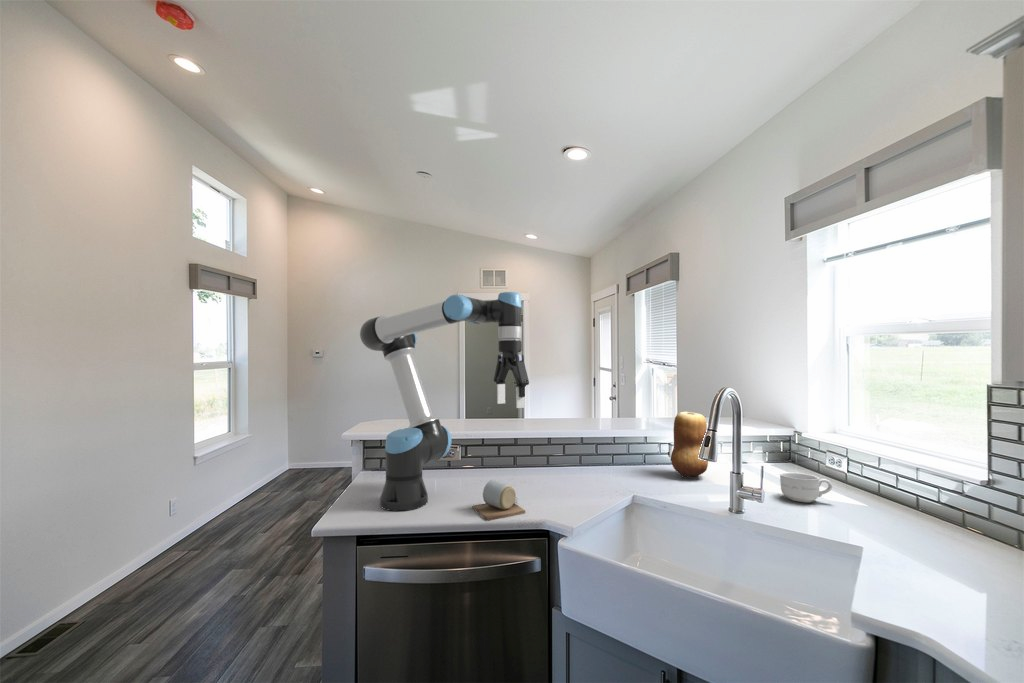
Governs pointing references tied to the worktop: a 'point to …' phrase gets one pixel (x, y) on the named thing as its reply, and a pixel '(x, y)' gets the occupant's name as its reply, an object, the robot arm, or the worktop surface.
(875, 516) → the worktop surface
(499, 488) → the ceramic mug
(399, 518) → the worktop surface
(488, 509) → the walnut trivet
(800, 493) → the teacup
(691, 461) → the butternut squash
